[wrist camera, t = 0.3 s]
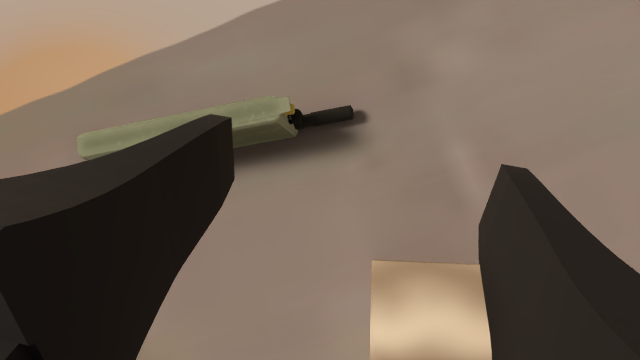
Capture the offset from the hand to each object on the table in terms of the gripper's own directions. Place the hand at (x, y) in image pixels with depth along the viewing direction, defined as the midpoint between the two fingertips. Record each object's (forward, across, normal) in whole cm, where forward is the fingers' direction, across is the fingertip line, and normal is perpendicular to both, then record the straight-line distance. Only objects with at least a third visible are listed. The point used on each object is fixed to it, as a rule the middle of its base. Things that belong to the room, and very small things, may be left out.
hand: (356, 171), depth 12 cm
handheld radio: (+27, +15, +17) cm, 35 cm away
